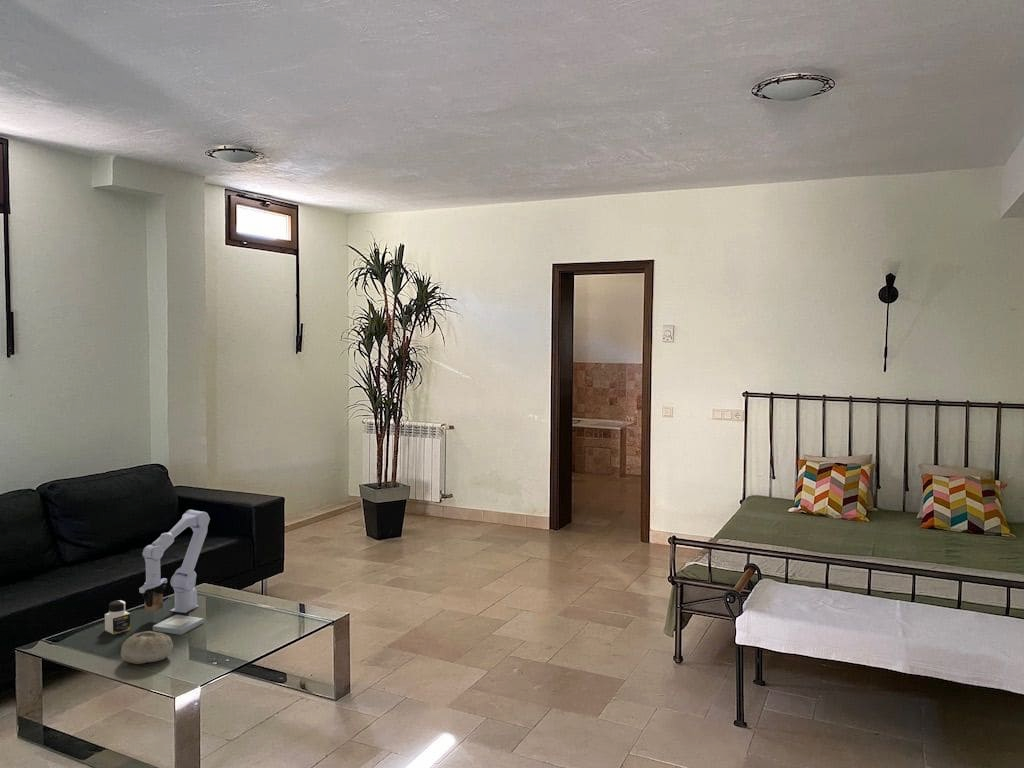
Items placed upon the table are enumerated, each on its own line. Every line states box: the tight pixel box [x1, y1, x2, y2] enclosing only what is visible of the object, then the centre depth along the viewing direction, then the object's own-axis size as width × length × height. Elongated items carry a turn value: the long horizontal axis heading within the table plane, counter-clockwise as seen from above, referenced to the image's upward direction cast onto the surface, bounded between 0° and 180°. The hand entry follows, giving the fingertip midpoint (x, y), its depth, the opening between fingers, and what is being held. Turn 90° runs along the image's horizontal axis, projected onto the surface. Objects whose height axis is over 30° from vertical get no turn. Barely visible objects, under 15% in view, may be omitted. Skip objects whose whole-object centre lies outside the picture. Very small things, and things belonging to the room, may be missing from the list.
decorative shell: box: [120, 630, 174, 665], centre depth 297 cm, size 18×18×10 cm
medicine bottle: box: [104, 599, 131, 635], centre depth 327 cm, size 7×7×12 cm
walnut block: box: [144, 592, 164, 612], centre depth 338 cm, size 5×5×6 cm
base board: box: [152, 614, 205, 636], centre depth 332 cm, size 14×14×2 cm
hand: (153, 604), depth 338 cm, fingers closed on walnut block, 5 cm apart
